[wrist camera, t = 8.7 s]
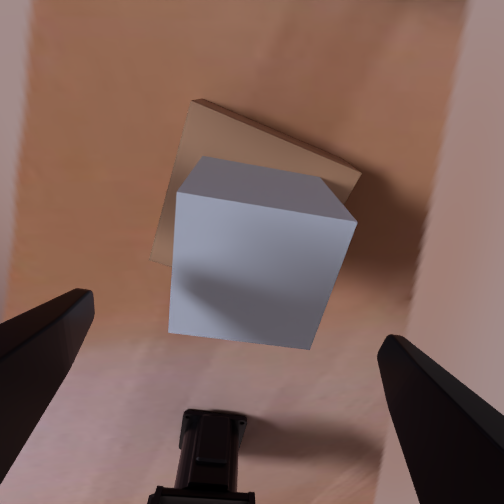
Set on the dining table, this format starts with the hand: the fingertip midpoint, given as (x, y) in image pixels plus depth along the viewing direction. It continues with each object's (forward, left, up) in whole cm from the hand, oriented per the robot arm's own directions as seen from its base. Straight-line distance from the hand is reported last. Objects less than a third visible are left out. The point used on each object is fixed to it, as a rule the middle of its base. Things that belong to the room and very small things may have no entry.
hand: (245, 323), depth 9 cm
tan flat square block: (0, 0, -12) cm, 12 cm away
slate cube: (0, 0, -8) cm, 8 cm away
